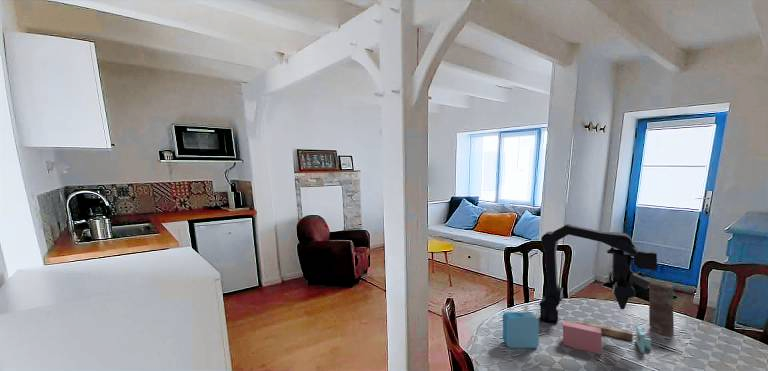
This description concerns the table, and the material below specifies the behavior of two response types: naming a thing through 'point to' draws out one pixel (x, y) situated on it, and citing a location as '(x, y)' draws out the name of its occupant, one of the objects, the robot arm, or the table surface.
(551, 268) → the robot arm
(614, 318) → the table surface
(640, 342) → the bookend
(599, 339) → the boxed book
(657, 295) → the brown tall block
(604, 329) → the rail
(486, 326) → the table surface
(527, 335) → the data package
